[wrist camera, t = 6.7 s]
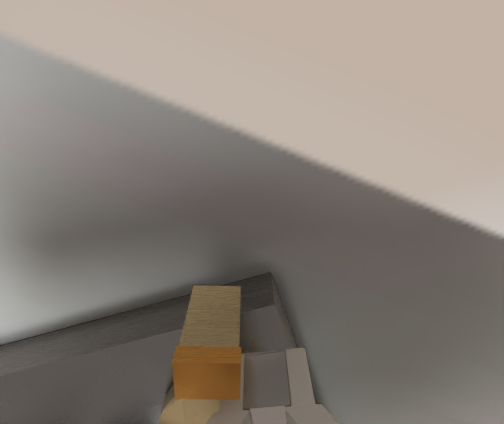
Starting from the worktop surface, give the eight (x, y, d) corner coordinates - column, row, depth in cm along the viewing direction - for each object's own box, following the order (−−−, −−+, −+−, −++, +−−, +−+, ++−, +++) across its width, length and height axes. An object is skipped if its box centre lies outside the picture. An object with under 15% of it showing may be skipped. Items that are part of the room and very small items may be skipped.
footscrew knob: (279, 449, 15) (293, 606, 11) (167, 449, 15) (134, 607, 10) (301, 243, 11) (338, 364, 6) (143, 240, 11) (72, 361, 6)
